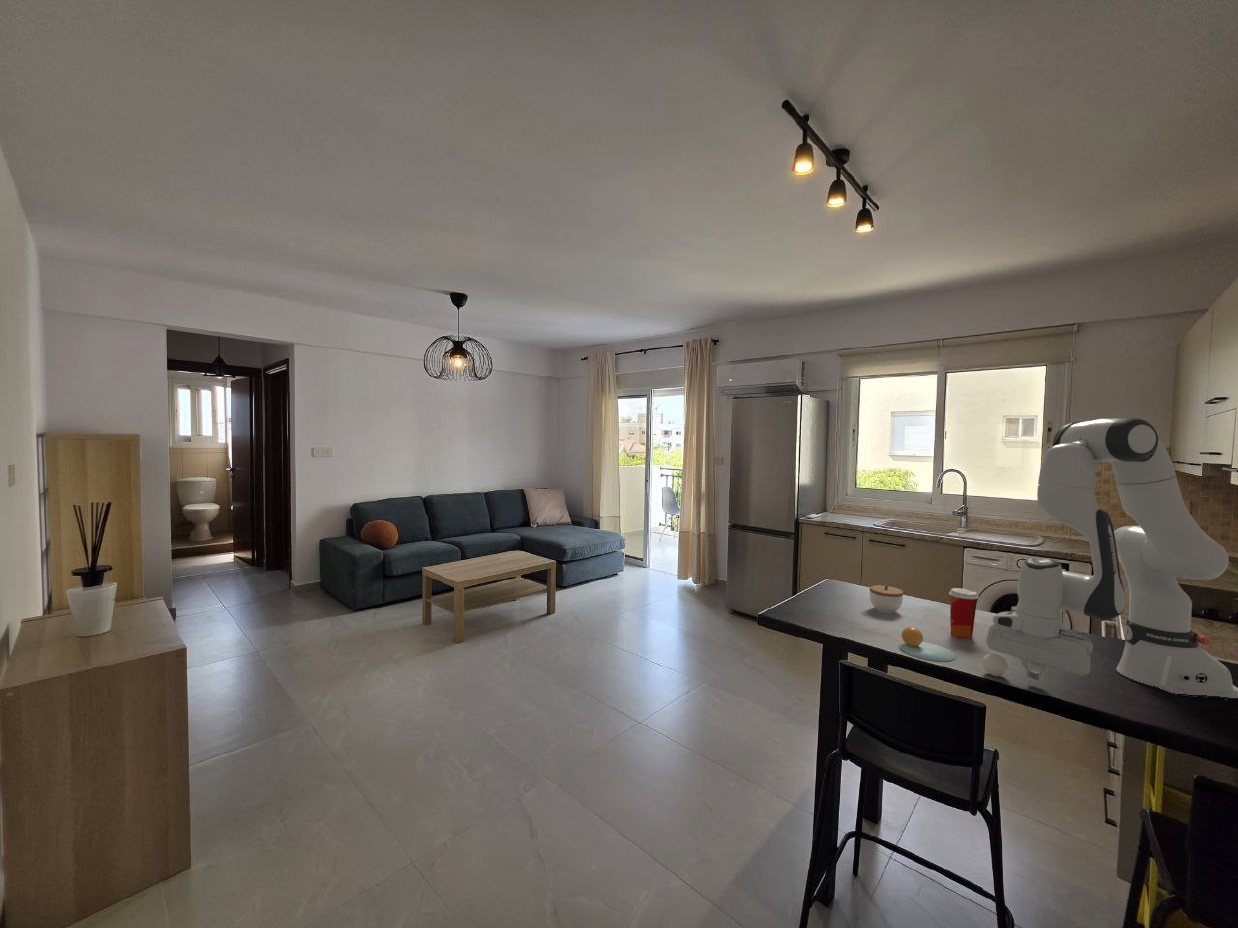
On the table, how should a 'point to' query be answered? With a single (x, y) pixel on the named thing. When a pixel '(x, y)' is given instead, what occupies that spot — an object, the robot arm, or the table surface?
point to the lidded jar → (886, 598)
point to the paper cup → (962, 612)
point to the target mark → (928, 652)
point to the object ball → (912, 636)
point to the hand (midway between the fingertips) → (1034, 678)
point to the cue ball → (994, 664)
